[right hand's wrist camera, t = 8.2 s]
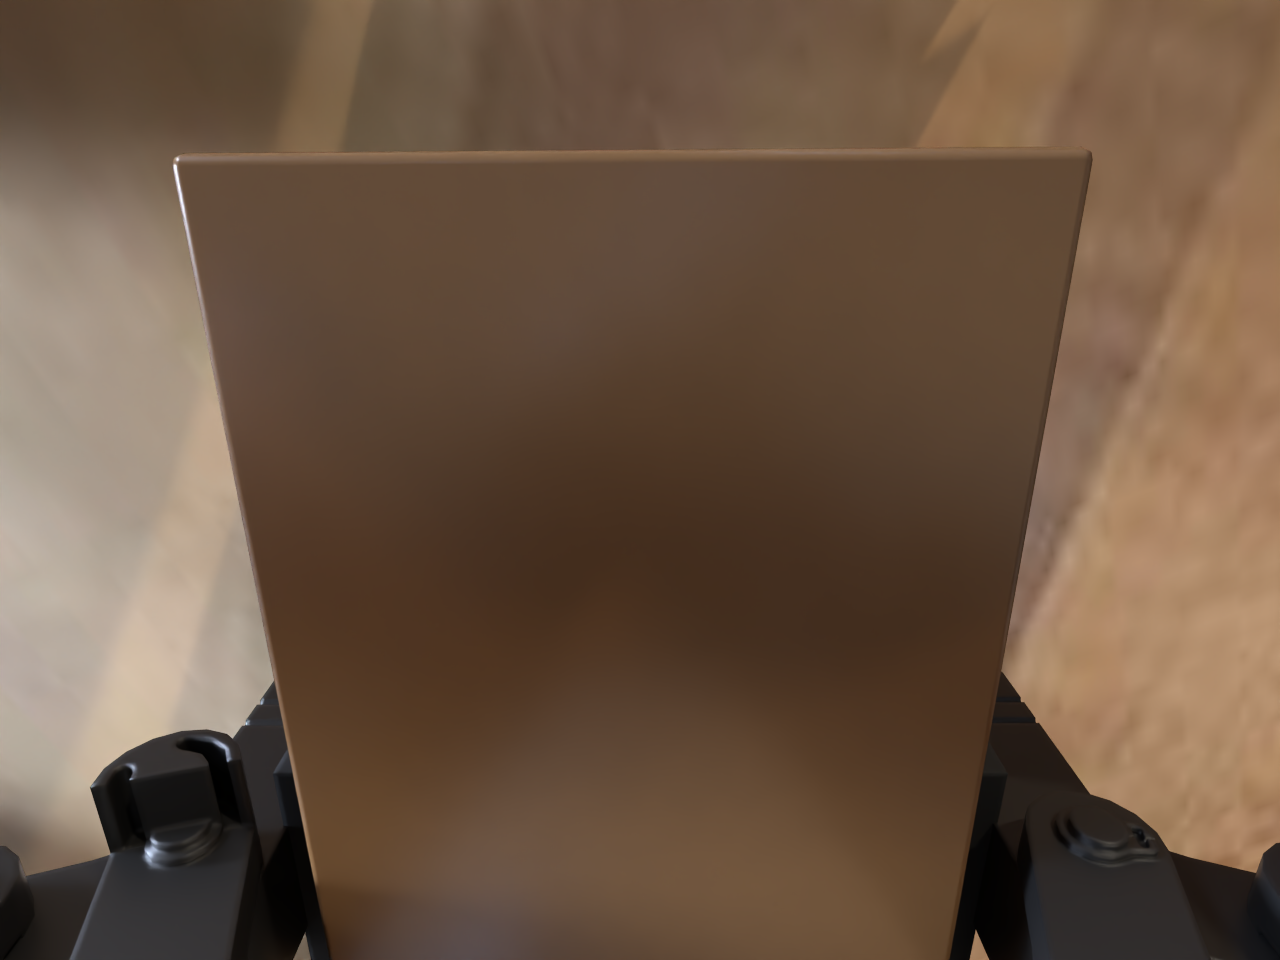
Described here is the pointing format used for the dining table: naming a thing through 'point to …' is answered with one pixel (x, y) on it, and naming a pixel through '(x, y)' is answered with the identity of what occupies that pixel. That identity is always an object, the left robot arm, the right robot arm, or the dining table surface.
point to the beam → (636, 528)
